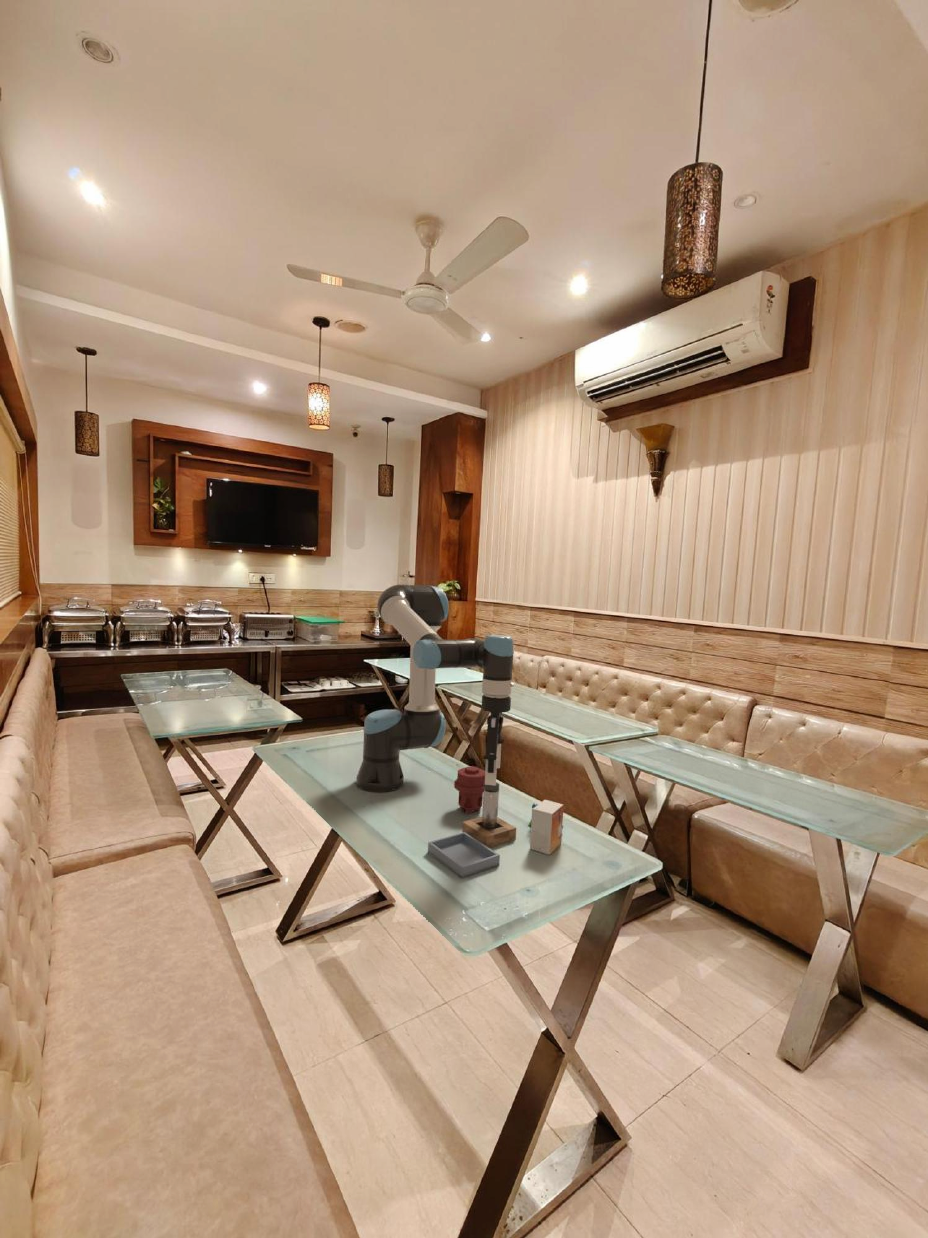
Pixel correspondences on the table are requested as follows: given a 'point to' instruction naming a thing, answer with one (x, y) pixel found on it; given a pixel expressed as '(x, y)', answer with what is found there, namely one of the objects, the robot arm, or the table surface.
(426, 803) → the table surface
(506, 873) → the table surface
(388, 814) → the table surface
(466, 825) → the socket
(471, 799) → the mechanical component
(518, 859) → the table surface
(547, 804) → the small box
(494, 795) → the pin
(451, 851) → the tray
